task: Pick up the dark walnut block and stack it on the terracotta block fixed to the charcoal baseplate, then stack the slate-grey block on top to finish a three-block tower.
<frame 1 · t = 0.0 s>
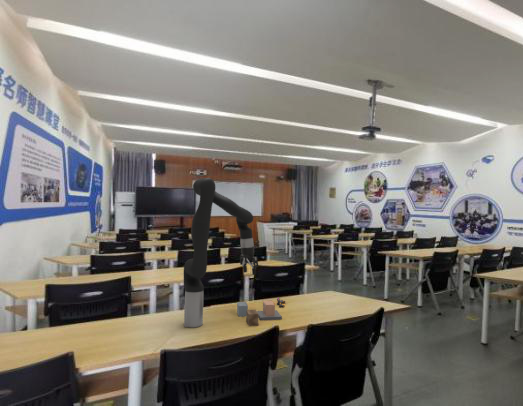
hand: (249, 273, 192), 22 cm above the table, fingers open, 8 cm apart
brick slate: (242, 314, 188), on the table
toy set: (278, 306, 207), on the table
baseplate: (268, 316, 184), on the table
brick walnut: (252, 323, 172), on the table
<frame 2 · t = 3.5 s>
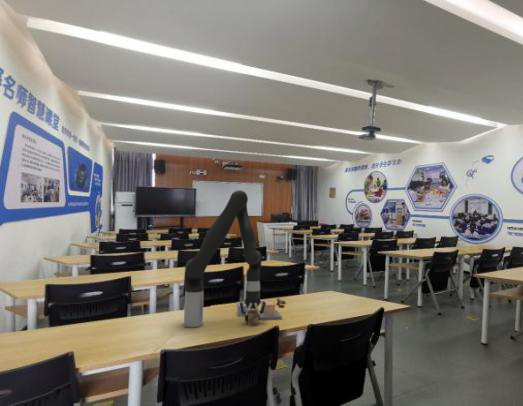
hand: (252, 321, 173), 1 cm above the table, fingers closed on brick walnut, 5 cm apart
brick walnut: (252, 323, 172), on the table, touching gripper
everything else where it was.
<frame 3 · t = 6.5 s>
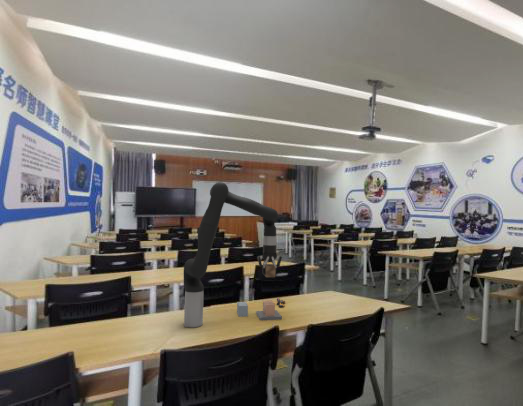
hand: (269, 274, 185), 23 cm above the table, fingers closed on brick walnut, 5 cm apart
brick walnut: (269, 275, 185), point 22 cm above the table, touching gripper
everything else where it was.
when the fingers open (9 cm above the table, at t = 9.5 s): brick walnut stays where it is, resting on baseplate.
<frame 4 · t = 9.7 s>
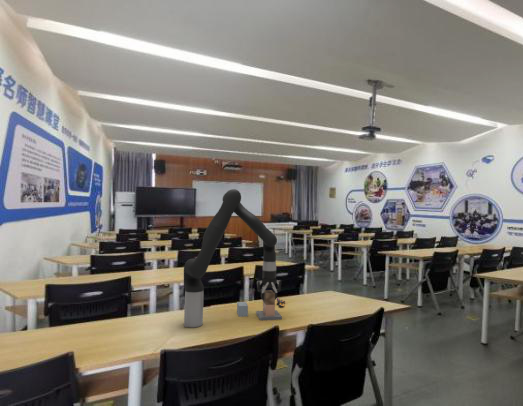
hand: (268, 299, 185), 9 cm above the table, fingers open, 6 cm apart
brick walnut: (268, 302, 185), point 7 cm above the table, touching baseplate
everything else where it was.
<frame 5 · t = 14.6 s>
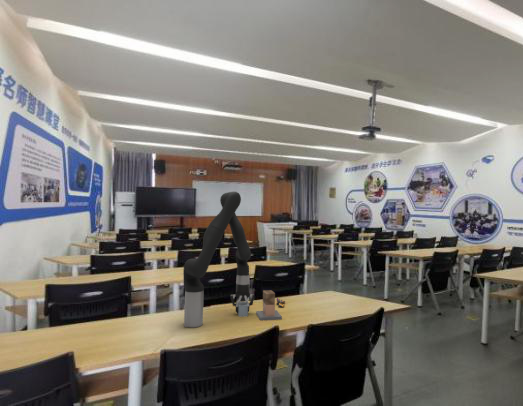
hand: (242, 312, 188), 1 cm above the table, fingers closed on brick slate, 5 cm apart
brick slate: (242, 314, 187), on the table, touching gripper
everything else where it was.
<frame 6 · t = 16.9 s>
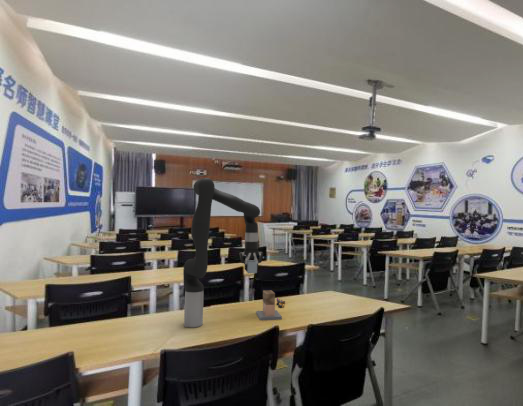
hand: (251, 270, 188), 25 cm above the table, fingers closed on brick slate, 5 cm apart
brick slate: (251, 271, 188), point 24 cm above the table, touching gripper
everything else where it was.
when the fingers open (15 cm above the table, at t = 19.7 s): brick slate stays where it is, resting on brick walnut.
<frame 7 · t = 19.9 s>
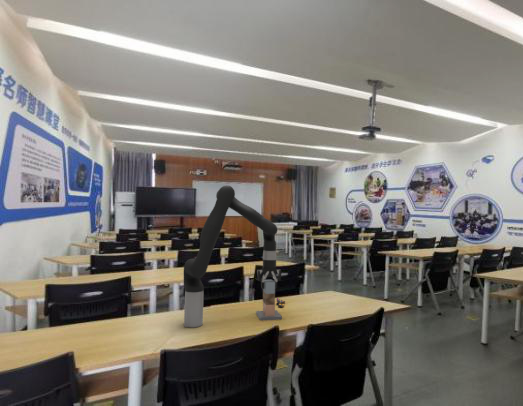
hand: (269, 288, 185), 15 cm above the table, fingers open, 6 cm apart
brick slate: (268, 291, 185), point 14 cm above the table, touching brick walnut
brick walnut: (268, 302, 185), point 8 cm above the table, touching baseplate, brick slate
everything else where it was.
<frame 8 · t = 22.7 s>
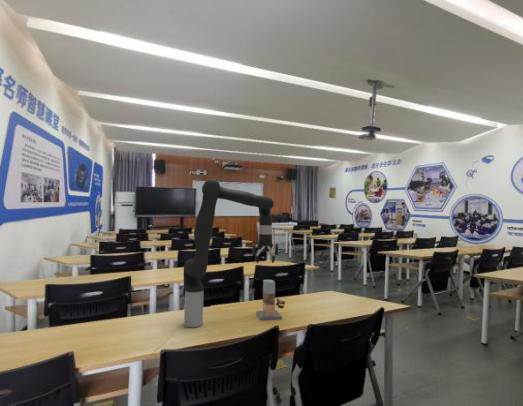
hand: (265, 262, 183), 30 cm above the table, fingers open, 8 cm apart
nothing on the table moved.
at the end: brick walnut 0.1 cm off-centre on the baseplate, point 7.5 cm above the baseplate's base; brick slate 0.1 cm off-centre on the baseplate, point 13.5 cm above the baseplate's base; brick slate tilted 0° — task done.
